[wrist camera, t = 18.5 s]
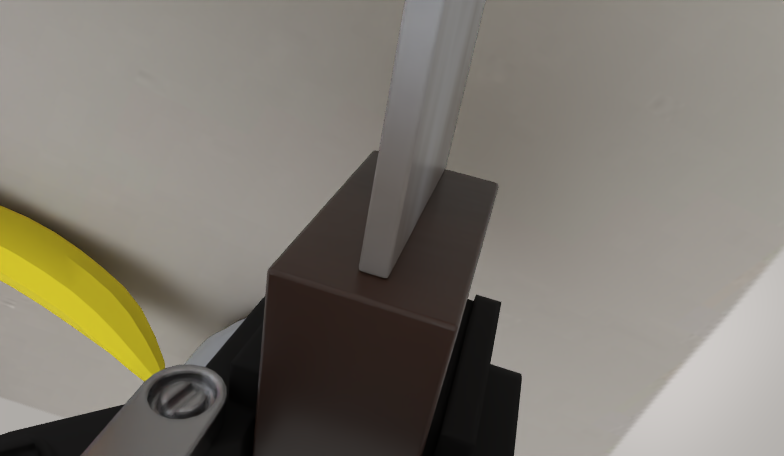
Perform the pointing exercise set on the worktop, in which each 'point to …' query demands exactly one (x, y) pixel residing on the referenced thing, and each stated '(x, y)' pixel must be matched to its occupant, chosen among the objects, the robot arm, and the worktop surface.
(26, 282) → the banana
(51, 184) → the worktop surface
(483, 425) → the robot arm
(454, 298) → the knife
